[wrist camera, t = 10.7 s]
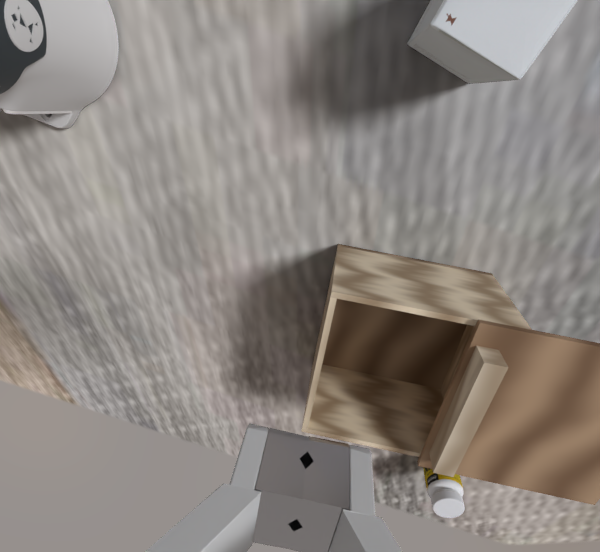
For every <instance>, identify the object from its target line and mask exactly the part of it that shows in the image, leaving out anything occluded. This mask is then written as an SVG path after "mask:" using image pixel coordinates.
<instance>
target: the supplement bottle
mask: <svg viewBox="0 0 600 552" xmlns="http://www.w3.org/2000/svg"><path fill="white" fill-rule="evenodd" d="M423 469H424V475H425V481H426V487H427V493H428V495H429V497H430V498H431V503H432V506H433V510H434V512H435V513H436V514H437V515H439V516H441V517H445V518H454V517H458V516H460V515H461V514H462V513H463V512H464V509H465V508H464V503H463V499H462V496H463V487H462V483H461V479H460V475H457V474H455V475H454V477H450V476H446V475H441V474H437V473H433V470H432V469H430V468H425V467H423Z"/></svg>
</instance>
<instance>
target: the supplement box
mask: <svg viewBox="0 0 600 552" xmlns="http://www.w3.org/2000/svg"><path fill="white" fill-rule="evenodd" d="M577 1H578V0H431V1H430V3H429V5H428V6H427V8H426V10H425V12H424V14H423V15H422V17H421V19H420V21H419V23H418V25H417V26H416V28H415V30H414V32H413V34H412V36H411V37H410V39H409V41H408V43H407V45H409V46H410V47H412V48H413V49H415V50H417V51H418V52H420V53H421V54H423V55H424V56H426V57H428V58H429V59H431V60H432V61H434V62H435V63H437V64H438V65H440V66H442V67H443V68H445V69H446V70H448V71H449V72H451V73H453V74H454V75H456V76H457V77H459V78H460V79H462V80H464V81H465V82H467V83H469V84H473V83H486V82H499V81H510V80H520V79H521V78H522V77H523V76H524V74H525V73H526V72H527V70H528V69H529V68H530V66H531V65H532V64H533V62H534V61H535V59H536V58H537V57H538V55H539V54H540V53H541V51H542V50H543V48H544V47H545V46H546V44H547V43H548V41H549V40H550V39H551V37H552V36H553V34H554V33H555V32H556V30H557V29H558V27H559V26H560V25H561V23H562V22H563V21H564V19H565V18H566V16H567V15H568V14H569V12H570V11H571V9H572V8H573V7H574V5H575V4H576V2H577Z"/></svg>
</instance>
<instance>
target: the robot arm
mask: <svg viewBox="0 0 600 552" xmlns="http://www.w3.org/2000/svg"><path fill="white" fill-rule="evenodd" d="M118 50H119V44H118V33H117V27H116V22H115V19H114V15H113V12H112V9H111V7H110V4H109V2H108V0H0V111H1V109H3V111H4V112H5V113H8V114H23V115H25V116H28V117H30V118H33V119H36V120H38V121H41V122H43V123H46V124H48V125H51V126H53V127H56V128H64V129H66V128H70V127H71V126H72V125H73V124H74V122H75V121H76V119H77V117H78V115H79V113H80V111H81V110H82V109H83V108H84V107H85V106H87V105H89V104H90V103H92V102H93V101H95V100H96V99H98V98H99V97H100V96H101V95H102V94H103V93H104V92H105V91H106V89H107V88H108V86H109V85H110V83H111V81H112V79H113V76H114V74H115V70H116V66H117V61H118ZM50 114H52V116H51V115H50ZM252 542H255V543H260V544H265V545H270V546H275V547H281V548H286V549H289V548H290V549H291V550H295V551H299V552H403V551H402V549H401V548H400V546H399V545H398V543H397V541H396V540H395V538H394V537H393V535H392V533H391V532H390V530H389V529H388V527H387V525H386V524H385V522H384V521H383V519H382V518H381V517H377V516H375V503H374V486H373V469H372V453H371V451H370V449H368V448H363V447H359V446H354V445H348V444H346V443H341V442H335V441H330V440H325V439H320V438H315V437H310V436H309V437H307V436H302V435H298V434H294V433H290V432H286V431H281V430H277V429H273V428H270V429H269V428H268V427H263V426H259V425H255V424H250V423H249V425H248V427H247V429H246V432H245V435H244V439H243V442H242V445H241V448H240V452H239V455H238V458H237V462H236V465H235V468H234V472H233V475H232V478H231V481H230V485H229V484H222V485H221V486H220V487H219V488H218V489H216V490H215V491H214V492H213V493H212V494H211V495H209V496H208V497H207V498H206V499H205V500H204V501H203V502H201V503H200V504H199V505H198V506H197V507H196V508H194V509H193V510H192V511H191V512H190V513H189V514H188V515H186V516H185V517H184V518H183V519H182V520H181V521H180V522H178V523H177V524H176V525H175V526H174V527H173V528H172V529H170V530H169V531H168V532H167V533H166V534H165V535H164V536H162V537H161V538H160V539H159V540H158V541H157V542H156V543H154V544H153V545H152V546H151V547H150V548H149V549H148V550H146V551H145V552H247V551H248V549H249V548H250V547H251V546H252Z"/></svg>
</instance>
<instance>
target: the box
mask: <svg viewBox="0 0 600 552" xmlns="http://www.w3.org/2000/svg"><path fill="white" fill-rule="evenodd" d="M478 319H479V320H484V321H489V322H494V323H499V324H504V325H509V326H514V327H519V328H525V329H530V330H532V329H531V328H530V326H529V325H528V323H527V322H526V321H525V319H524V318H523V317H522V315H521V314H520V312H519V311H518V310H517V308H516V307H515V305H514V304H513V303H512V301H511V300H510V298H509V297H508V296H507V294H506V293H505V291H504V290H503V289H502V287H501V286H500V285H499V283H498V282H497V280H496V279H495V278H494V276H493V275H492V274H491V273H486V272H481V271H476V270H471V269H465V268H460V267H455V266H450V265H445V264H439V263H434V262H429V261H424V260H419V259H413V258H408V257H403V256H398V255H393V254H387V253H382V252H377V251H372V250H367V249H361V248H356V247H351V246H346V245H340V244H338V246H337V251H336V256H335V260H334V265H333V270H332V275H331V279H330V284H329V289H328V294H327V298H326V303H325V308H324V313H323V317H322V322H321V327H320V332H319V336H318V341H317V346H316V351H315V355H314V360H313V365H312V371H311V377H310V383H309V389H308V395H307V401H306V407H305V413H304V419H303V426H302V432H306V433H311V434H316V435H320V436H325V437H329V438H334V439H338V440H343V441H347V442H352V443H357V444H361V445H366V446H370V447H375V448H379V449H384V450H388V451H393V452H398V453H402V454H407V455H411V456H416V457H419V456H420V454H421V452H422V449H423V447H424V445H425V442H426V440H427V437H428V435H429V433H430V430H431V428H432V426H433V423H434V421H435V419H436V416H437V414H438V412H439V409H440V407H441V405H442V402H443V400H444V398H445V395H446V393H447V391H448V388H449V386H450V384H451V381H452V379H453V377H454V374H455V372H456V370H457V367H458V365H459V363H460V360H461V358H462V356H463V353H464V351H465V349H466V346H467V344H468V342H469V339H470V337H471V335H472V332H473V330H474V328H475V325H476V323H477V321H478Z"/></svg>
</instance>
